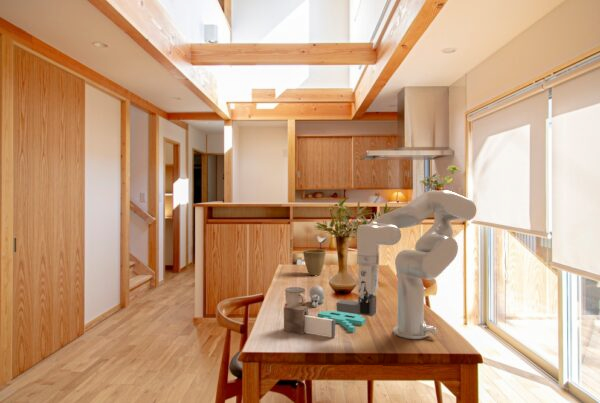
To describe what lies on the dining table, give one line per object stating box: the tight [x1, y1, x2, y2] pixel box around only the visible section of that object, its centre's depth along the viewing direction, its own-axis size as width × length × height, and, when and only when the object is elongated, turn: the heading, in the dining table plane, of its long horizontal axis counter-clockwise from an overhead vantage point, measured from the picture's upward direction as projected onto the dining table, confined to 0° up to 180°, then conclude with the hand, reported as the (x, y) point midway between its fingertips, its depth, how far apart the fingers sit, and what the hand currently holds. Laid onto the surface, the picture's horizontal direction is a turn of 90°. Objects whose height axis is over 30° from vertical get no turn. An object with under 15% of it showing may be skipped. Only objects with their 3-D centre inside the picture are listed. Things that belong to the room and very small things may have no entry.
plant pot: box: [302, 249, 326, 276], centre depth 251 cm, size 15×15×16 cm
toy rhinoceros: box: [308, 285, 325, 308], centre depth 182 cm, size 7×12×8 cm, turn 165°
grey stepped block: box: [336, 294, 377, 317], centre depth 135 cm, size 13×5×6 cm, turn 64°
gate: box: [304, 315, 336, 338], centre depth 142 cm, size 13×2×6 cm, turn 64°
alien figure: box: [317, 309, 367, 333], centre depth 158 cm, size 20×2×20 cm
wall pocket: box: [283, 303, 309, 335], centre depth 146 cm, size 8×5×9 cm, turn 64°
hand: (367, 310), depth 134 cm, fingers closed on grey stepped block, 5 cm apart
